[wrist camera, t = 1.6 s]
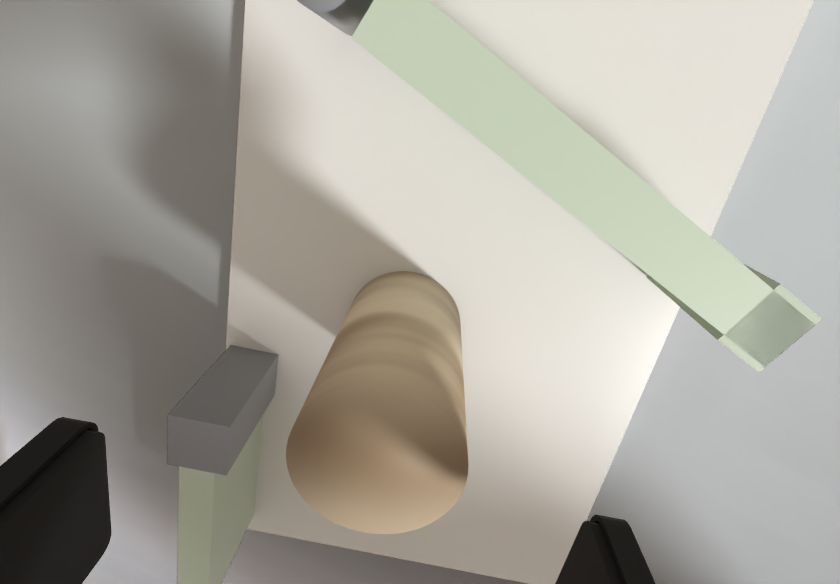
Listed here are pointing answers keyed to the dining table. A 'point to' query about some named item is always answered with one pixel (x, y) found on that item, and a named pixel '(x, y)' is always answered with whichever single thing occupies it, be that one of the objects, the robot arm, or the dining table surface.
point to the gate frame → (460, 258)
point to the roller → (386, 412)
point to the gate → (584, 178)
